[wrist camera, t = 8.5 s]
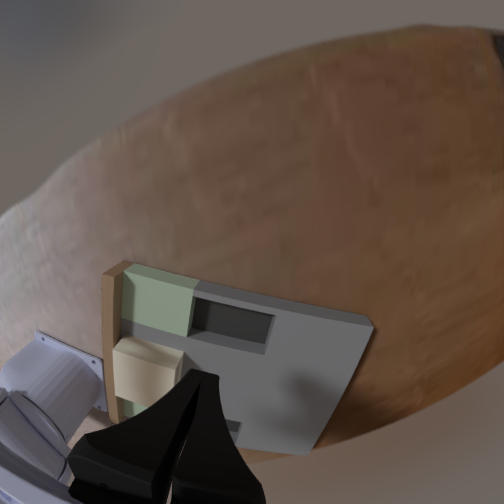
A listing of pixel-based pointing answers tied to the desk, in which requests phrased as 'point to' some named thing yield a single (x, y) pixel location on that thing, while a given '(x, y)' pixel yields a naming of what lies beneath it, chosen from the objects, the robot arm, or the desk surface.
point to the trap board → (239, 351)
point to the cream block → (145, 370)
